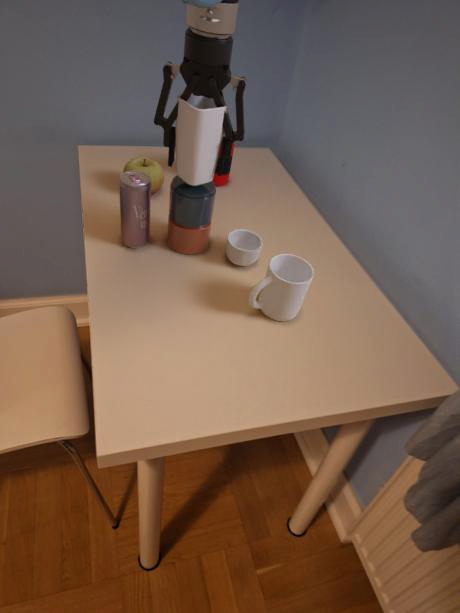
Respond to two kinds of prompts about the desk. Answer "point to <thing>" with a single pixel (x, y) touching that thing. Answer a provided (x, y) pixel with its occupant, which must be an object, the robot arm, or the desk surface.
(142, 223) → the beverage can
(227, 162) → the soda can
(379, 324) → the desk surface
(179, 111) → the cup
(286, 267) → the mug
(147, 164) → the apple
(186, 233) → the tumbler stack
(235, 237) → the teacup
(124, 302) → the desk surface
